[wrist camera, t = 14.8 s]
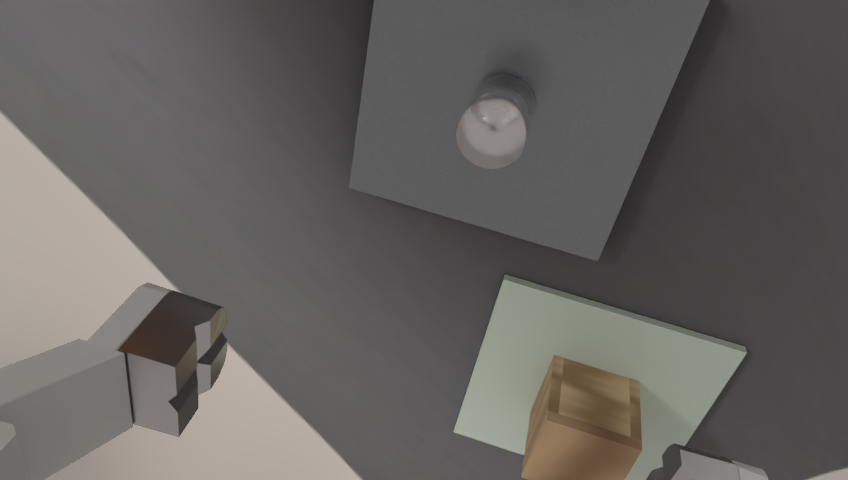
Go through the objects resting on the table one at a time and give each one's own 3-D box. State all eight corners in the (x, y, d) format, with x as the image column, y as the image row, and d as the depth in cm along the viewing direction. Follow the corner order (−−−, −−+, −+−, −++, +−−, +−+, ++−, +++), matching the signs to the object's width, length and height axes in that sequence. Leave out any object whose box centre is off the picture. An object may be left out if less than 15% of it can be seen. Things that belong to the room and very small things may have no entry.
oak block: (530, 410, 48) (521, 476, 43) (554, 354, 45) (546, 419, 40) (609, 435, 48) (608, 505, 43) (639, 381, 44) (642, 450, 39)
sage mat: (455, 426, 52) (453, 432, 52) (504, 274, 43) (503, 279, 42) (650, 490, 51) (650, 497, 50) (745, 346, 41) (746, 352, 41)
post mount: (356, 177, 42) (322, 224, 37) (394, -94, 33) (355, -79, 28) (598, 248, 40) (595, 307, 35) (709, -16, 31) (727, 15, 26)
